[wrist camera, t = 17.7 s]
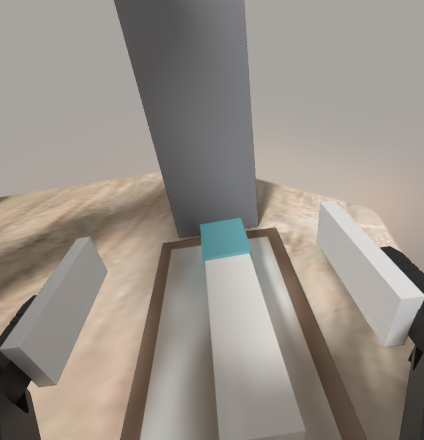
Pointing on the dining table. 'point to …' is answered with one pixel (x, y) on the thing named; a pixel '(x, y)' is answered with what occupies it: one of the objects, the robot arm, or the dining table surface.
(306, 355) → the writing pad
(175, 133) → the stand
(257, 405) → the block
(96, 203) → the dining table surface
